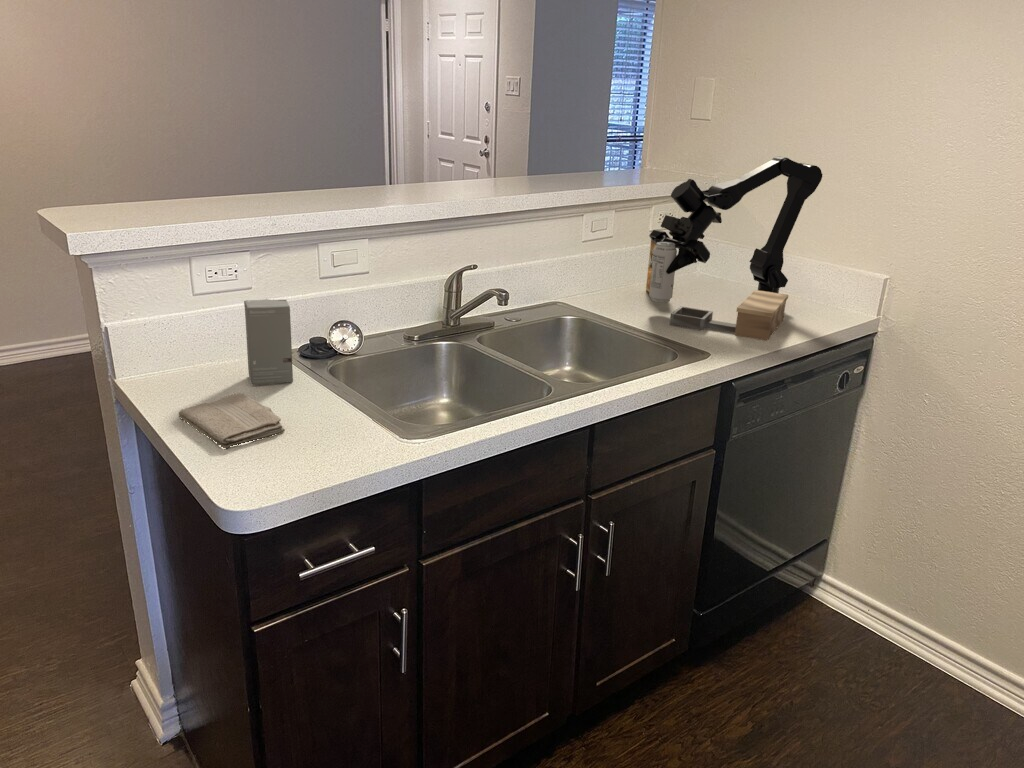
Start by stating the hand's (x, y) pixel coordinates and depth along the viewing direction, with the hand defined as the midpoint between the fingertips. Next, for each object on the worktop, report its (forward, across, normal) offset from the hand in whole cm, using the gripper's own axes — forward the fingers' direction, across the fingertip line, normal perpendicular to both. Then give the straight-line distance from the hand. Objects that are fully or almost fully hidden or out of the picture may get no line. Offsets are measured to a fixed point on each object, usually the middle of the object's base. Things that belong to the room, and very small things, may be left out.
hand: (659, 270), depth 208 cm
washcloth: (+89, +24, -73) cm, 117 cm away
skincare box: (+80, +4, -65) cm, 103 cm away
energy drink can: (+5, 0, +7) cm, 8 cm away
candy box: (-1, -17, +19) cm, 25 cm away
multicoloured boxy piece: (0, +14, +18) cm, 22 cm away
